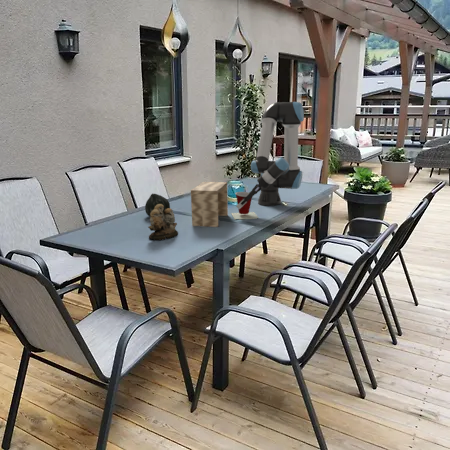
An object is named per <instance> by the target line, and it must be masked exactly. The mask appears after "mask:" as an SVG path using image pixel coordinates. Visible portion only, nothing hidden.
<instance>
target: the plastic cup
mask: <svg viewBox="0 0 450 450" xmlns="http://www.w3.org/2000/svg"><path fill="white" fill-rule="evenodd" d="M248 194H249V192H248V191H237V192H235V197H236V203H237V204H236V205H238V204H239V203H240V202H241V201H242V200H243V198H245V197H246V196H247V195H248ZM252 200H253V197H252V198H251V199H250V200H249V201H248V202H247V203H246V204H245V205H243V206H242V207H241V208H240V209H238V208H237V209H238V213H240V214H248V213H249V212H250V208H251V204H252V203H251V202H252Z"/></svg>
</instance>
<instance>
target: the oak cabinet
mask: <svg viewBox="0 0 450 450" xmlns="http://www.w3.org/2000/svg"><path fill="white" fill-rule="evenodd" d="M190 201H191V224H192V225H191V226H192V227H209V228H210V227H213V228H218V227H219V216H224V217H225V216H226V217H227V216H229V213H228V212H229V211H228V210H229V208H228V207H229V204H228V201H229V200H228V182H226V181H225V182H224V181H202V182H200V184H198V185H197V186H195V187H194V188H192V189H191V190H190Z"/></svg>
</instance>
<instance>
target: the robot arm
mask: <svg viewBox="0 0 450 450" xmlns="http://www.w3.org/2000/svg"><path fill="white" fill-rule="evenodd" d="M304 111H305V110H304V107H303V105H302V103H301V102H299V101H290V102H289V101H287V102H286V101H282V102H280V101H278V102H273V103H271V104H270V105H269V106H268V107H267V108H266V109H265V111H264V112H263V114H262V118H261V124H262V126H261V130H260V136H259V142H258V147H257V153H256V159H255V160H252V161H251V163H250V169H251V172H252V173H254V174H260V176H259V177H258V178H257V179H256V180H257V183H256V184H255V185H254V186H253V188H252V189H251V191H250V192H248V193H249V194H248V195H247V196H246V197H245V198H243V200H242V201H241V202H240V203H239V204H236V206H235V207H236V208H237V209H240V208H241V207H242V206H243V205H245V204H246V203H247V202H248V201H249V200H250V199H251V198H252V199H253V197H254V196H255V195H257V194H258V193H259V192H260V193H259V196H258V200H257V204H258V205H260V206H265V207H266V206H268V207H269V206H271V207H273V206H279V205H281V204H282V199H281V195H280V193H279V189H285V190H287V189H289V190H297V189H299V188H300V187H301V184H302V180H303V171H302V170H301V168H300V166H299V165H298V163H299V162H298V160H299V159H298V158H299V157H298V156H299V127H300V126H301V124H302V123H303V122H304V119H305V118H304V117H305V115H304ZM278 122H281V125H282V127H284V133H283V134H284V135H283V136H284V137H283V138H284V140H283V142H284V144H283V146H284V147H283V149H284V150H283V156H280V157H279V158H278V159H275V160H270V155H271V149H272V144H273V138H274V137H273V136H274V133H275V131H274V130H275V127H276V126H277V124H278Z"/></svg>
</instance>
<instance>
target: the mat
mask: <svg viewBox="0 0 450 450" xmlns="http://www.w3.org/2000/svg"><path fill="white" fill-rule="evenodd" d="M231 215H232V217H233V219H234V221H235V220H236V219H239V220H255V219H256V220H257V218H258V219H259V217H258V215H257V214H256V213H255V212H254V211H249V213H248V214H240V213H239V212H231ZM236 221H237V220H236Z"/></svg>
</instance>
